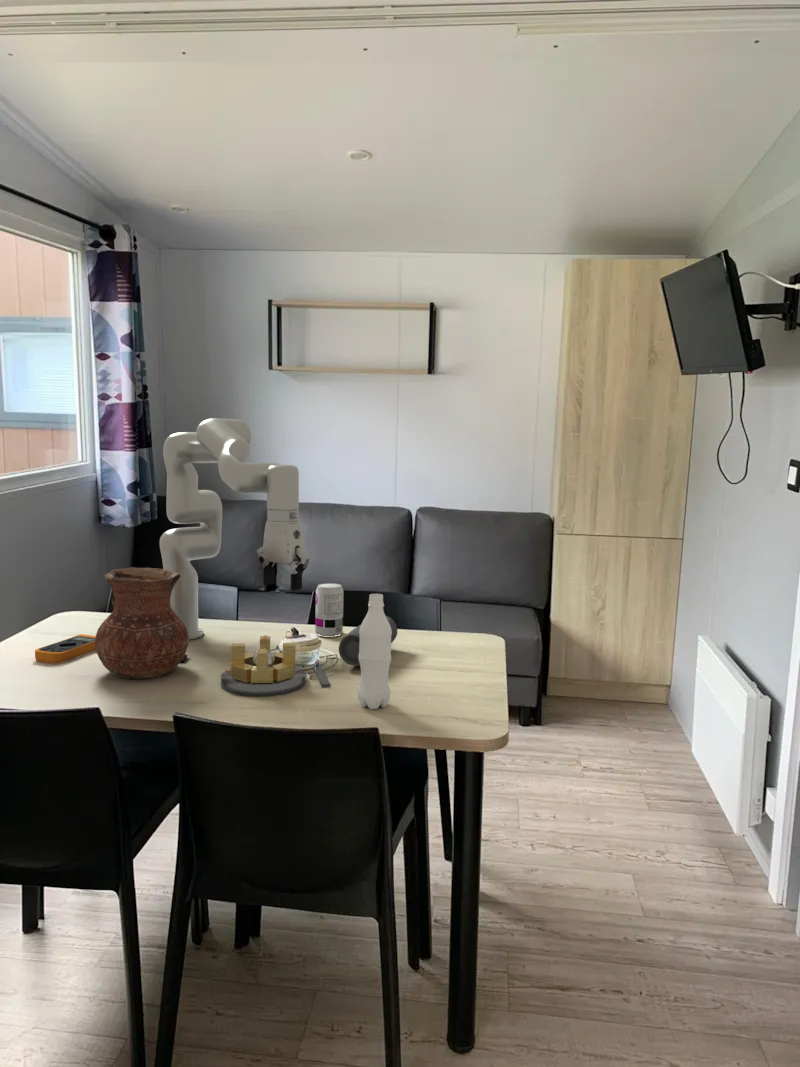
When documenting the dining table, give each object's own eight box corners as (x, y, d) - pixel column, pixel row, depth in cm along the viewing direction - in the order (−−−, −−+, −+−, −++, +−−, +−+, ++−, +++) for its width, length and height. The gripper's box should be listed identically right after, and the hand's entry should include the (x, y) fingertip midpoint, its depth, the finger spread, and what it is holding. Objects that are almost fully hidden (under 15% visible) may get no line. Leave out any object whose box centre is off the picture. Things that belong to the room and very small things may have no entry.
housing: (216, 697, 171) (216, 667, 170) (225, 670, 191) (225, 643, 190) (305, 695, 173) (306, 666, 173) (305, 669, 193) (305, 642, 192)
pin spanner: (330, 688, 180) (330, 678, 180) (321, 689, 180) (321, 678, 180) (320, 668, 196) (320, 658, 195) (312, 668, 195) (312, 658, 195)
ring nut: (228, 683, 173) (228, 652, 172) (234, 663, 188) (234, 635, 187) (294, 682, 175) (295, 652, 174) (295, 663, 190) (295, 635, 189)
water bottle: (369, 713, 163) (371, 599, 160) (351, 703, 169) (353, 593, 166) (396, 707, 168) (399, 596, 165) (378, 697, 173) (380, 590, 170)
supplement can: (310, 636, 225) (311, 586, 223) (321, 630, 233) (322, 581, 231) (336, 639, 222) (337, 589, 220) (346, 632, 230) (347, 584, 228)
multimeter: (30, 662, 194) (30, 649, 194) (80, 645, 211) (80, 633, 210) (57, 666, 191) (57, 653, 191) (106, 648, 208) (105, 636, 208)
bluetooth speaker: (370, 672, 192) (371, 634, 191) (336, 668, 195) (336, 630, 194) (399, 650, 213) (400, 615, 212) (368, 646, 216) (369, 612, 215)
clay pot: (204, 664, 195) (204, 568, 192) (158, 689, 175) (156, 583, 172) (130, 655, 201) (128, 562, 198) (76, 679, 181) (73, 576, 178)
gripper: (319, 518, 180) (319, 589, 182) (269, 512, 190) (269, 580, 192) (297, 520, 174) (296, 594, 176) (246, 514, 184) (246, 584, 186)
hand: (282, 586), depth 184 cm, fingers open, 9 cm apart
